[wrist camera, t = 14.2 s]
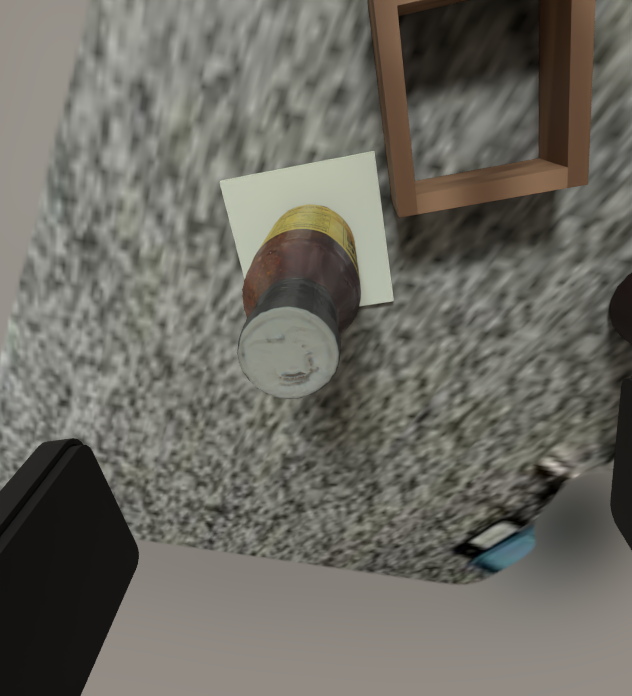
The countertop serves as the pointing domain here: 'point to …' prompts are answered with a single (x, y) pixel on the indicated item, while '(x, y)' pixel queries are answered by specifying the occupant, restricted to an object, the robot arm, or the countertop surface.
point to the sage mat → (324, 190)
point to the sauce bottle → (299, 302)
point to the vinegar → (623, 309)
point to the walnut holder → (554, 112)
